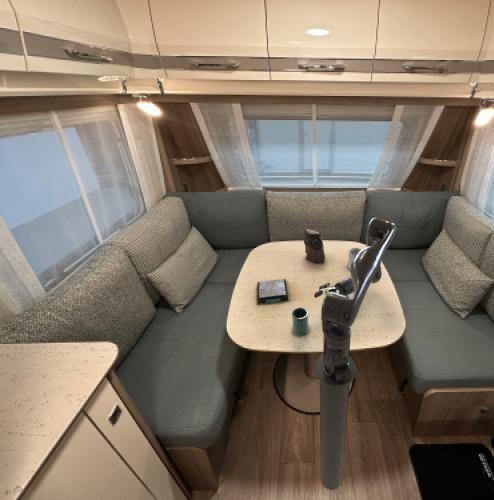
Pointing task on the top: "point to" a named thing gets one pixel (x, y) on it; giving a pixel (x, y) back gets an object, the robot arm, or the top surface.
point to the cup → (300, 321)
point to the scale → (272, 291)
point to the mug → (352, 255)
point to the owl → (314, 246)
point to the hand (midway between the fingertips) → (320, 301)
